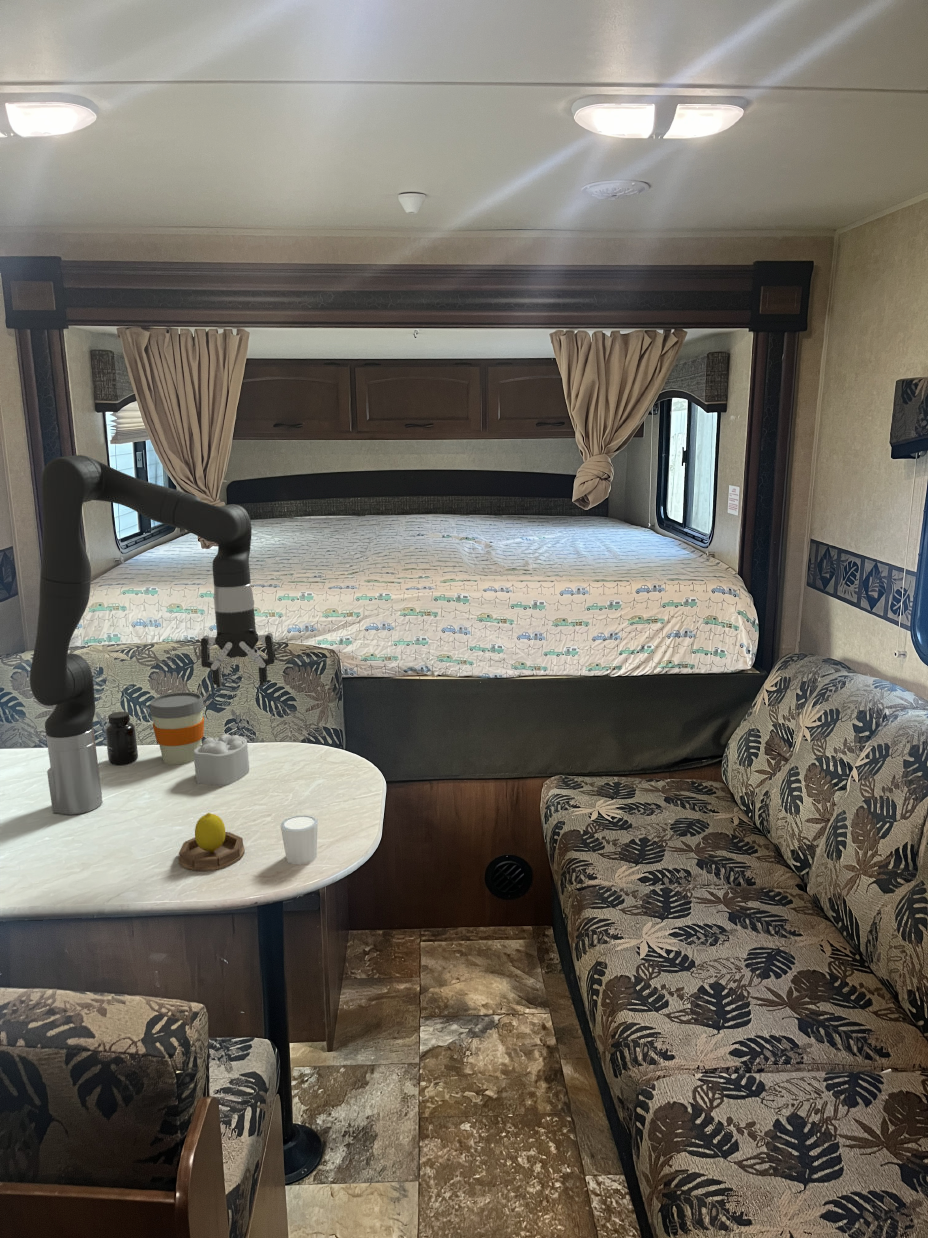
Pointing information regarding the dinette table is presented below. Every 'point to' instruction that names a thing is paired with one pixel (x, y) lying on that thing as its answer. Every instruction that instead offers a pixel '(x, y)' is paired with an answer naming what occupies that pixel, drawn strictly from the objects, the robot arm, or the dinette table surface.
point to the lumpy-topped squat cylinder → (221, 760)
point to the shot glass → (300, 838)
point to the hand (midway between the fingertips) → (241, 685)
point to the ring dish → (211, 854)
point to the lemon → (210, 832)
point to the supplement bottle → (121, 739)
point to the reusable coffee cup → (178, 725)
